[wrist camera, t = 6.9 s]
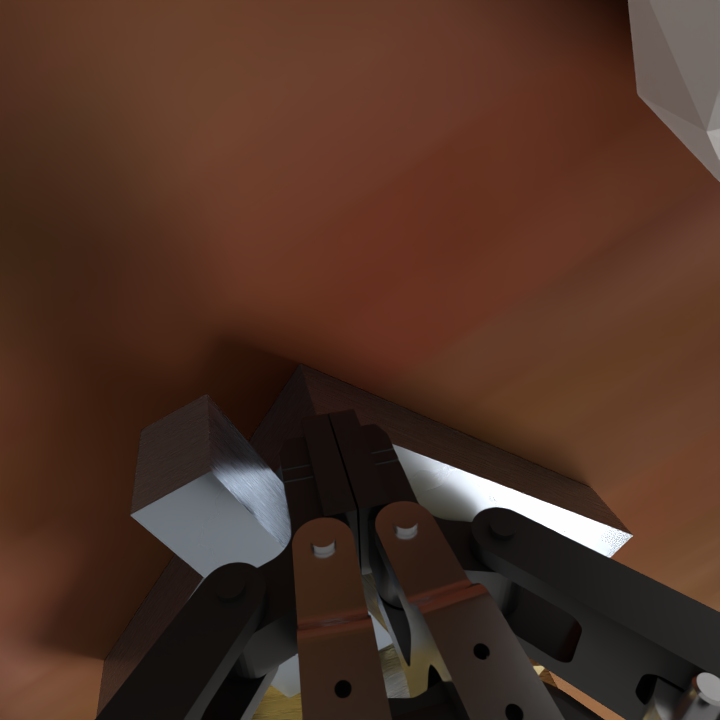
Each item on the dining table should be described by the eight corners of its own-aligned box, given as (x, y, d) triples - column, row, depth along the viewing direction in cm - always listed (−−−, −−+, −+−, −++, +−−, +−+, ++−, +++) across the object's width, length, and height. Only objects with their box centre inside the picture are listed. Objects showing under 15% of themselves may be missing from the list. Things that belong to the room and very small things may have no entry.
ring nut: (544, 629, 26) (614, 748, 22) (319, 748, 26) (344, 890, 22) (379, 294, 14) (461, 410, 10) (-27, 518, 14) (-120, 725, 10)
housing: (592, 488, 27) (723, 639, 20) (397, 689, 32) (450, 861, 25) (300, 363, 18) (359, 549, 12) (104, 661, 24) (70, 904, 17)
